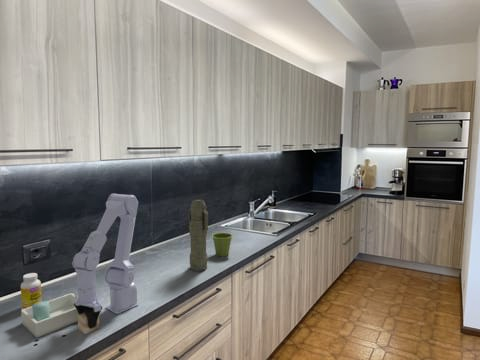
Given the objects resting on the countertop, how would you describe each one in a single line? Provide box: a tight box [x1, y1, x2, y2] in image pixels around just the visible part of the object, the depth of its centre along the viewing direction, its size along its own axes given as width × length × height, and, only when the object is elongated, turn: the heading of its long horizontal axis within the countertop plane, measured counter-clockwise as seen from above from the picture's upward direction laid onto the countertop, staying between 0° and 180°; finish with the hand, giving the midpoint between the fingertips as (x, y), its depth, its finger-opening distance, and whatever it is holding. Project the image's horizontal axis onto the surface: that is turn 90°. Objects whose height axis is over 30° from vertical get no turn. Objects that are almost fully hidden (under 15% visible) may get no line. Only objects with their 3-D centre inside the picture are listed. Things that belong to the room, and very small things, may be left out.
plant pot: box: [211, 232, 233, 257], centre depth 193 cm, size 12×12×11 cm
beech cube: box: [77, 313, 100, 335], centre depth 117 cm, size 5×5×5 cm
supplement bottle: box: [20, 272, 43, 310], centre depth 131 cm, size 7×7×13 cm
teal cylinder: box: [32, 300, 50, 322], centre depth 118 cm, size 5×5×7 cm
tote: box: [20, 292, 79, 339], centre depth 122 cm, size 18×14×5 cm
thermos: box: [188, 198, 209, 272], centre depth 171 cm, size 9×12×35 cm
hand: (88, 324), depth 117 cm, fingers closed on beech cube, 5 cm apart
